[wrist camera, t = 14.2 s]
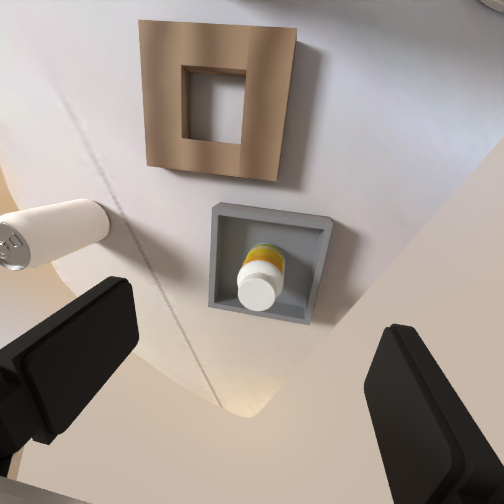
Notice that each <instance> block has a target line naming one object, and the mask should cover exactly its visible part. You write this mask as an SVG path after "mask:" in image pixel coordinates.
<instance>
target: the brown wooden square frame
mask: <svg viewBox="0 0 504 504" xmlns="http://www.w3.org/2000/svg"><path fill="white" fill-rule="evenodd" d="M138 23H139V40H140V57H141V74H142V90H143V107H144V124H145V141H146V158H147V166H153V167H161V168H169V169H178V170H186V171H194V172H202V173H211V174H219V175H227V176H235V177H244V178H252V179H260V180H268V181H277V179H278V172H279V164H280V157H281V150H282V142H283V135H284V128H285V120H286V113H287V106H288V98H289V91H290V84H291V76H292V69H293V62H294V54H295V47H296V39H297V28H282V27H263V26H245V25H226V24H208V23H190V22H171V21H153V20H138ZM190 73H203V74H216V75H229V76H242V77H246V84H245V97H244V110H243V123H242V136H241V145H240V144H231V143H221V142H212V141H202V140H193V139H190Z"/></svg>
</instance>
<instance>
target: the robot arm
mask: <svg viewBox="0 0 504 504" xmlns="http://www.w3.org/2000/svg"><path fill="white" fill-rule="evenodd" d="M480 1H481V2H483V3H484V4H485V5H486V6H488V7H490V8H492V9H494V10H497V11H499V12H504V0H480ZM138 341H139V331H138V325H137V318H136V311H135V304H134V297H133V290H132V285H131V284H130V283H129V281H128V280H127V279H126V278H120V277H115V276H110V277H108V278H106V279H105V280H103V281H102V282H100V283H99V284H97V285H96V286H94V287H93V288H91V289H90V290H88V291H87V292H85V293H84V294H82V295H81V296H79V297H78V298H76V299H75V300H73V301H72V302H70V303H69V304H67V305H66V306H64V307H63V308H61V309H60V310H59V311H57V312H56V313H54V314H53V315H51V316H50V317H48V318H47V319H45V320H44V321H42V322H41V323H39V324H38V325H36V326H35V327H33V328H32V329H30V330H29V331H27V332H26V333H24V334H23V335H21V336H20V337H18V338H17V339H15V340H14V341H12V342H11V343H9V344H8V345H6V346H5V347H3V348H2V349H0V504H91V503H87V502H84V501H81V500H77V499H74V498H71V497H68V496H64V495H61V494H58V493H54V492H51V491H48V490H45V489H41V488H38V487H35V486H31V485H28V484H25V483H21V482H18V481H16V479H17V474H18V470H19V466H20V461H21V457H22V453H23V449H24V445H25V444H26V443H27V442H28V441H29V440H30V438H31V437H32V439H33V441H36V442H40V443H43V444H47V445H50V443H51V442H52V441H53V440H54V439H55V438H56V436H57V435H58V434H61V433H63V432H64V431H65V430H66V429H67V428H68V427H69V426H70V425H71V424H72V422H73V421H74V420H75V419H76V418H77V416H78V415H79V414H80V413H81V412H82V410H83V409H84V408H85V407H86V406H87V404H88V403H89V402H90V401H91V400H92V398H93V397H94V396H95V395H96V393H97V392H98V391H99V390H100V389H101V388H102V386H103V385H104V384H105V383H106V381H107V380H108V379H109V378H110V376H111V375H112V374H113V373H114V372H115V371H116V369H117V368H118V367H119V366H120V364H121V363H122V362H123V361H124V360H125V359H126V357H127V356H128V355H129V354H130V353H131V351H132V350H133V349H134V348H135V347H136V345H137V343H138ZM364 393H365V397H366V401H367V405H368V408H369V412H370V416H371V419H372V423H373V427H374V431H375V435H376V438H377V442H378V446H379V449H380V453H381V457H382V461H383V464H384V468H385V472H386V475H387V479H388V483H389V487H390V490H391V494H392V498H393V501H394V504H504V466H503V464H502V463H501V461H500V460H499V458H498V457H497V455H496V453H495V452H494V450H493V449H492V447H491V446H490V444H489V443H488V441H487V440H486V438H485V436H484V435H483V434H482V432H481V430H480V429H479V427H478V426H477V424H476V423H475V421H474V420H473V418H472V416H471V415H470V413H469V412H468V410H467V409H466V407H465V406H464V404H463V402H462V401H461V400H460V398H459V396H458V395H457V393H456V392H455V390H454V389H453V387H452V386H451V384H450V383H449V381H448V379H447V378H446V376H445V375H444V373H443V372H442V370H441V368H440V367H439V365H438V364H437V362H436V361H435V359H434V358H433V356H432V355H431V353H430V351H429V350H428V348H427V347H426V345H425V344H424V342H423V341H422V339H421V338H420V336H419V335H418V333H417V332H416V330H415V329H414V328H413V327H411V326H405V325H399V324H392V325H391V326H390V327H386V328H385V329H384V332H383V335H382V337H381V340H380V342H379V345H378V348H377V350H376V353H375V355H374V358H373V361H372V363H371V366H370V369H369V372H368V374H367V377H366V379H365V382H364Z"/></svg>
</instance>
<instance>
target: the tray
mask: <svg viewBox="0 0 504 504" xmlns="http://www.w3.org/2000/svg"><path fill="white" fill-rule="evenodd" d="M332 228H333V223H332V221H331V219H330V218H329V217H326V216H318V215H311V214H303V213H296V212H288V211H281V210H273V209H266V208H258V207H251V206H243V205H236V204H228V203H221V202H220V203H219V204H217V205H215V206H214V207H212V225H211V250H210V275H209V301H208V307H211V308H217V309H222V310H228V311H234V312H239V313H245V314H250V315H256V316H261V317H267V318H272V319H278V320H283V321H289V322H294V323H300V324H306V325H310V321H311V317H312V312H313V308H314V304H315V300H316V295H317V291H318V287H319V283H320V279H321V274H322V270H323V266H324V262H325V257H326V253H327V249H328V245H329V240H330V236H331V232H332ZM261 243H269V244H273V245H275V246H276V247H278V248H279V249H280V250H281V251H282V253H283V255H284V258H285V270H284V283H283V289H282V291H281V293H280V295H279V296H278V297H277V298H276V299H275V302H274V303H273V305H272V306H271V307H270V308H268V309H266V310H264V311H253V310H250V309H248V308H246V307H245V306H244V305H242V303H241V302H240V300H239V298H238V284H237V277H238V274H239V271H240V269H241V267H242V265H243V263H244V261H245V259H246V257H247V255H248V253H249V251H250V250H251V249H252V248H253V247H254V246H255V245H257V244H261Z"/></svg>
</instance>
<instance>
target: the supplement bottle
mask: <svg viewBox="0 0 504 504" xmlns="http://www.w3.org/2000/svg"><path fill="white" fill-rule="evenodd" d="M284 270H285V258H284V255H283V253H282V251H281V250H280V249H279V248H278V247H276V246H275V245H273V244H269V243H261V244H257V245H255V246H254V247H253V248H252V249H251V250H250V251H249V253H248V255H247V257H246V259H245V261H244V263H243V265H242V267H241V269H240V271H239V274H238V277H237V284H238V298H239V300H240V302H241V303H242V305H244V306H245V307H246V308H248V309H250V310H253V311H264V310H266V309H268V308H270V307H271V306H272V305H273V303H274V302H275V299H276V298H277V297H278V296H279V295H280V293H281V291H282V289H283V283H284Z"/></svg>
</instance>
